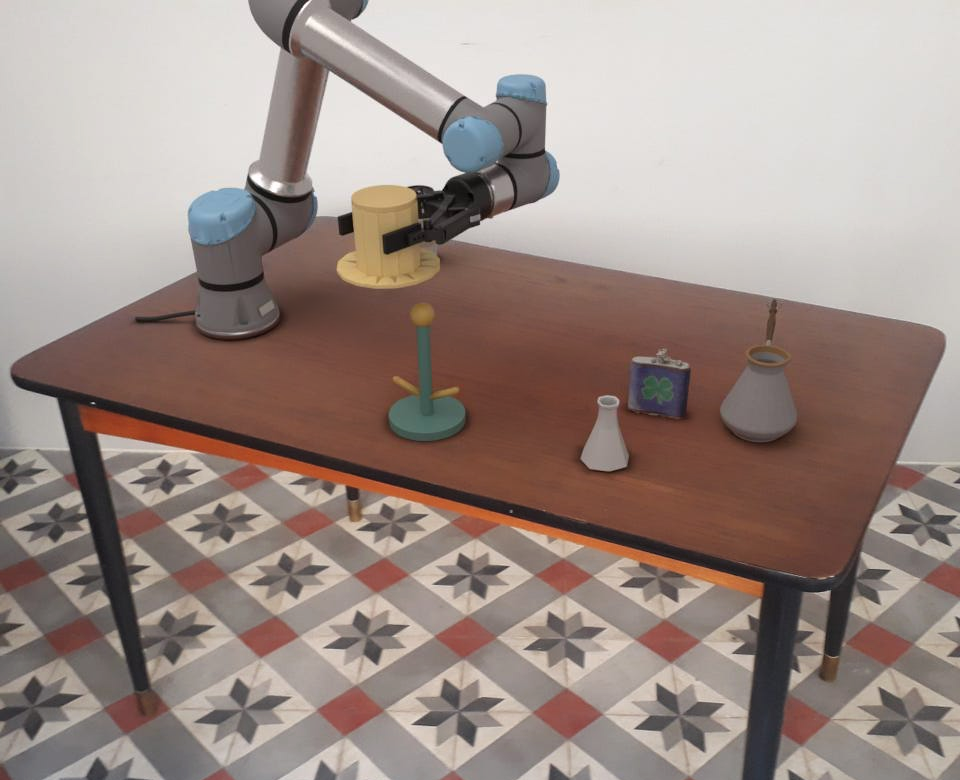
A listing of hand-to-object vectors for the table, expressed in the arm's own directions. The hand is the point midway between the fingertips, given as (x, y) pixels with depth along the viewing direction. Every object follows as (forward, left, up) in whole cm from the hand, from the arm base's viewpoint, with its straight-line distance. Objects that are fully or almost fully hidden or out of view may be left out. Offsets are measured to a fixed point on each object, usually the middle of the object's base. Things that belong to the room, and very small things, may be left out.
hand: (361, 235), depth 148 cm
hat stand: (+8, +2, -30) cm, 31 cm away
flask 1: (+37, +1, -30) cm, 48 cm away
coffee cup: (-19, +60, -30) cm, 70 cm away
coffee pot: (+56, +22, -30) cm, 67 cm away
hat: (+2, +4, -6) cm, 8 cm away
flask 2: (+41, +17, -30) cm, 54 cm away
